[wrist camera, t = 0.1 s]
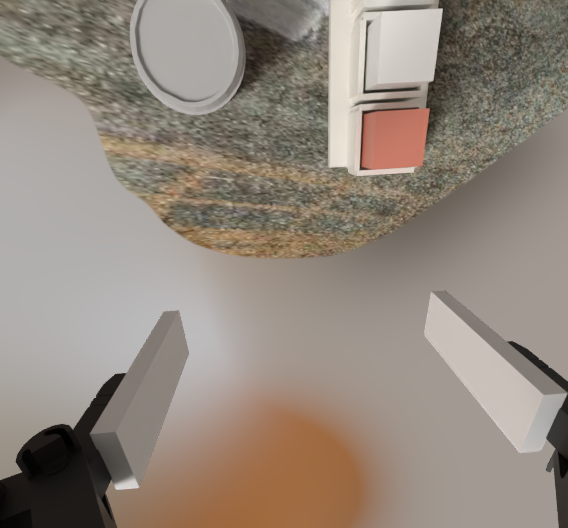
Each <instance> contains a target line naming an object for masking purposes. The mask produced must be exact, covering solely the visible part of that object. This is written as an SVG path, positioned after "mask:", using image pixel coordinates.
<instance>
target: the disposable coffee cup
mask: <svg viewBox="0 0 568 528" xmlns="http://www.w3.org/2000/svg"><path fill="white" fill-rule="evenodd" d="M130 42H131V50H132V55H133V59H134V63H135V65H136V68H137V70H138V73H139V75H140V77H141V78H142V80H143V82H144V83H145V85H146V86H147V87H148V89H149V90H150V91H151V93H152V94H153V95H154V96H155V97H156V98H158V99H159V100H160V101H161V102H162V103H164V104H165V105H167V106H168V107H170V108H172V109H174V110H176V111H178V112H182V113H185V114H191V115H202V114H207V113H211V112H214V111H216V110H218V109H220V108H221V107H223V106H224V105H225V104H227V103H228V102H229V101H230V100H231V99H232V98H233V97H234V95H235V93H236V92H237V90H238V88H239V86H240V84H241V81H242V79H243V75H244V70H245V63H246V48H245V43H244V37H243V32H242V30H241V27H240V24H239V22H238V19H237V17H236V16H235V14H234V12H233V10H232V8H231V7H230V6H229V5H228V3H227V2H226V1H225V0H138V1H137V3H136V5H135V7H134V10H133V14H132V17H131V21H130Z"/></svg>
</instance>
